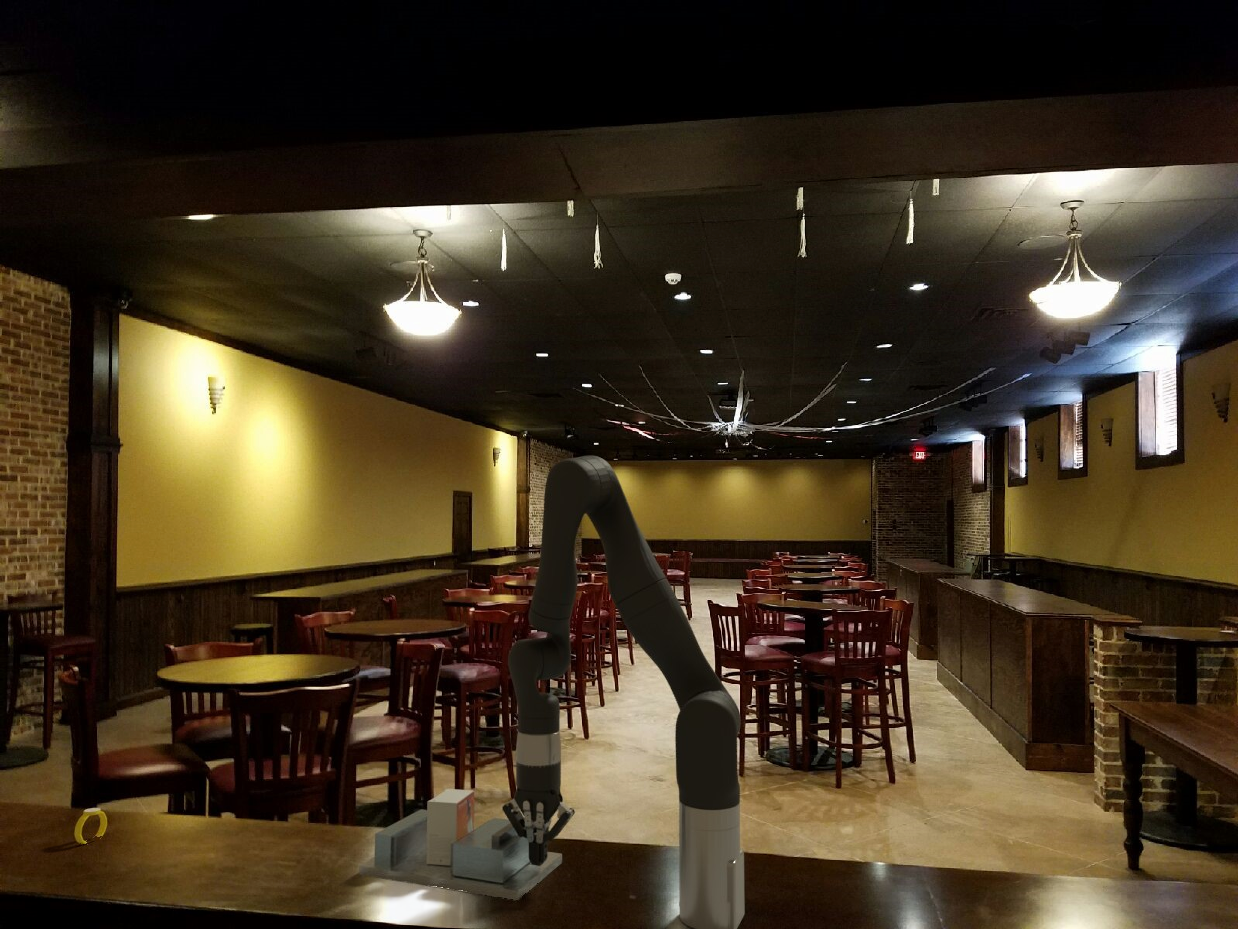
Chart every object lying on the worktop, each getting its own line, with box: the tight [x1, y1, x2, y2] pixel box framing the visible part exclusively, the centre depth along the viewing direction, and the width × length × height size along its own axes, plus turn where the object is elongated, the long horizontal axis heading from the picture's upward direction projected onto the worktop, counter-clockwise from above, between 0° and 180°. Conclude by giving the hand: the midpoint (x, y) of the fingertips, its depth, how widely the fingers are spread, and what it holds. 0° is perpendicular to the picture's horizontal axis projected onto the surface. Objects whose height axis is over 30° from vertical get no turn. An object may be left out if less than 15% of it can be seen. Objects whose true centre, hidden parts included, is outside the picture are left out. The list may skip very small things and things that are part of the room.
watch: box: [74, 807, 108, 845], centre depth 164 cm, size 6×3×6 cm, turn 164°
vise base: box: [358, 809, 563, 901], centre depth 151 cm, size 30×17×6 cm, turn 69°
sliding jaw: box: [450, 817, 530, 883], centre depth 149 cm, size 10×14×6 cm
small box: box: [426, 788, 475, 866], centre depth 152 cm, size 8×6×10 cm
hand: (537, 864), depth 146 cm, fingers closed
